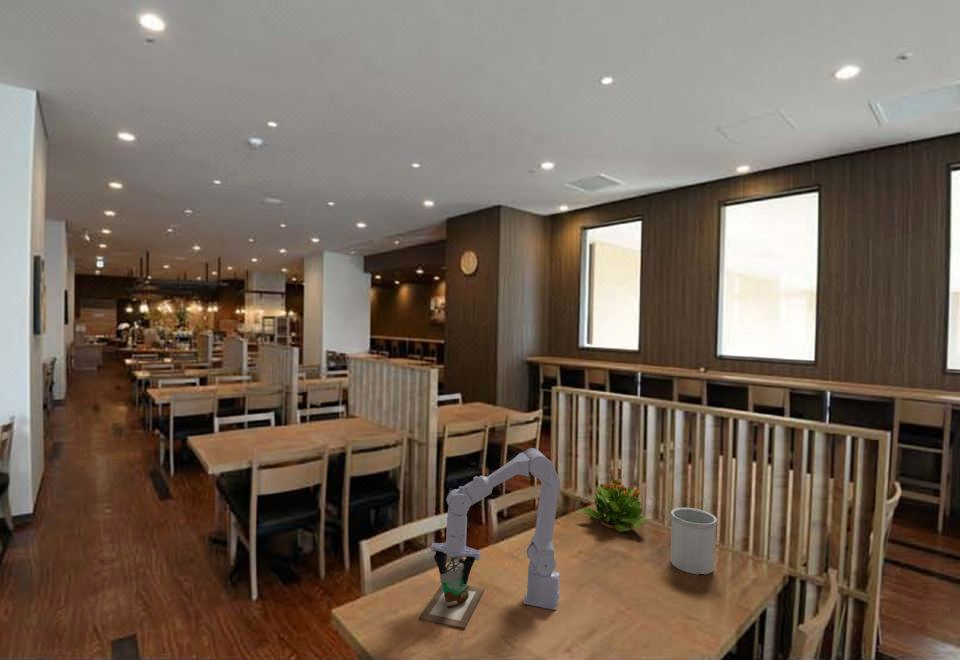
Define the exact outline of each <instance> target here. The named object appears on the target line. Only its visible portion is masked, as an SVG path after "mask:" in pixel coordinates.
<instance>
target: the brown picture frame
mask: <svg viewBox="0 0 960 660" xmlns="http://www.w3.org/2000/svg"><path fill="white" fill-rule="evenodd" d="M484 592H485V589H484V588H482V587H481V588H480V587H476V586H470V585H468V594H469V597H468V599H467V600H466V601H465V602H464V603H463V604H461V605H459V606H456V607H452V608H447V604H446V600H445V595H444V591H443V586H442V584H440V586H439V588H438V589H437V590H436V592H435V594H434V595H433V596H432V598H431V599H430V601H429V602H428V604H427V605H426V607H425V608H424V610H423V611H422V612H421V614H419V617H418V620H419V621H422V622H426V621H427V623H432V624H437V625H440V626H445V627H449V628H455V629H458V630H459V629H460V630H464V631H465V629H466V628H467V626H468V624H469V622H470V620H471V619H472V616H473V614H474V612H475V610H476V609H477V606H478V604H479V602H480V600H481V598H482V596H483V594H484Z"/></svg>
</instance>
